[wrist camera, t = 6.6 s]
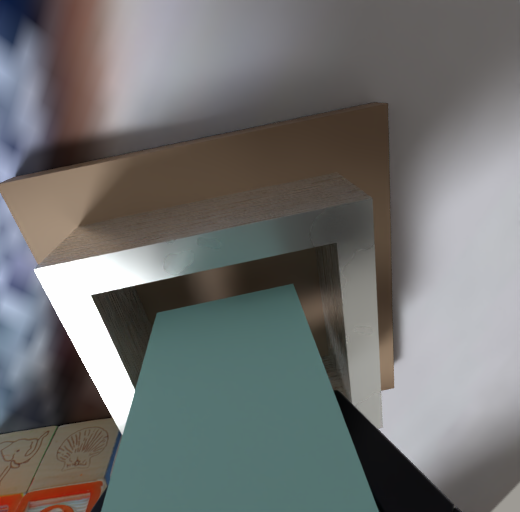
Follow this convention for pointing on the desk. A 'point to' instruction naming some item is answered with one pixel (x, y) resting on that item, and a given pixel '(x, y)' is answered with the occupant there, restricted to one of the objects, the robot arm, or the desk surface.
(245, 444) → the teal block
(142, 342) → the frame
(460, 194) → the desk surface
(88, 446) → the stack of blocks
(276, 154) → the base board
